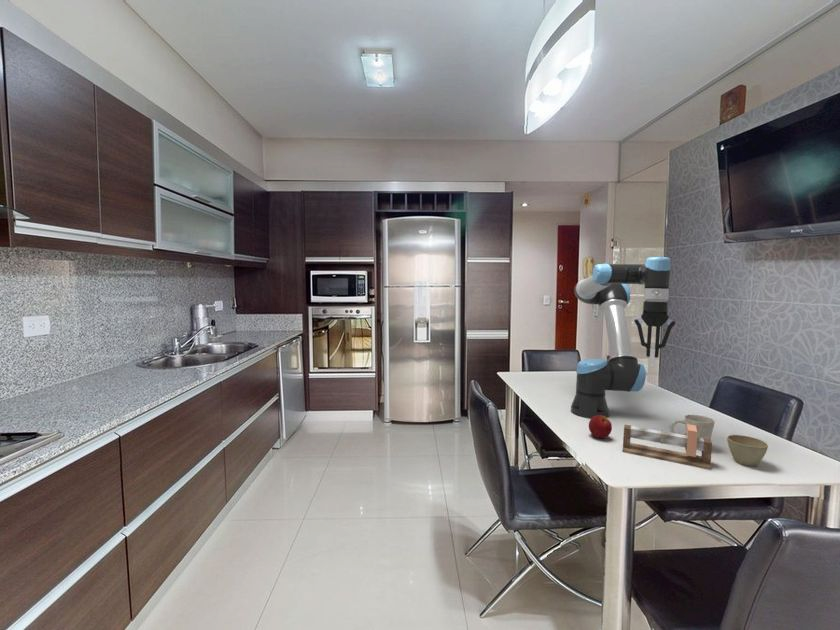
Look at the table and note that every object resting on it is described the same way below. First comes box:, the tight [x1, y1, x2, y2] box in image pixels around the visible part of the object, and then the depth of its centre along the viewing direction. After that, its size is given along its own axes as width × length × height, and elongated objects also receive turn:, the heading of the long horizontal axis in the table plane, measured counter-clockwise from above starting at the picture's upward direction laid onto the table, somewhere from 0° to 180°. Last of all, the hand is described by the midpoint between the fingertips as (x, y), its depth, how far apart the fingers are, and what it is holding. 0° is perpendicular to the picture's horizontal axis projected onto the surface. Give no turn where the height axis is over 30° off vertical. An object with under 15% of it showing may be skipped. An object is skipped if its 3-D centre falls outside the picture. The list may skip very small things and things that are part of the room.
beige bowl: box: [726, 434, 769, 467], centre depth 125 cm, size 10×10×7 cm
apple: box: [588, 415, 613, 439], centre depth 145 cm, size 8×8×8 cm
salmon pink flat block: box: [684, 424, 698, 457], centre depth 126 cm, size 2×7×8 cm, turn 150°
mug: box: [669, 414, 715, 440], centre depth 138 cm, size 8×13×10 cm, turn 58°
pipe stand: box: [621, 424, 713, 470], centre depth 129 cm, size 24×8×8 cm, turn 60°
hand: (651, 366), depth 144 cm, fingers closed
